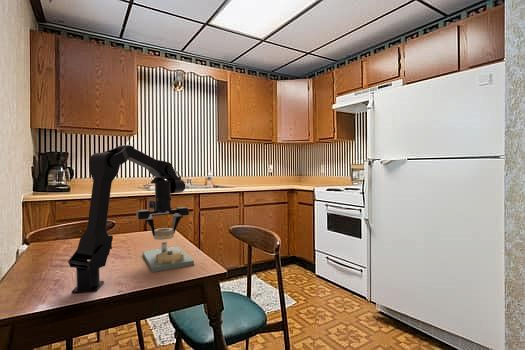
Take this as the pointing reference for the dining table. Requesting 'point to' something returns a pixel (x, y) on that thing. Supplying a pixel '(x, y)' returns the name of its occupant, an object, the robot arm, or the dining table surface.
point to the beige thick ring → (164, 233)
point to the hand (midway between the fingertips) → (163, 234)
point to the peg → (163, 247)
